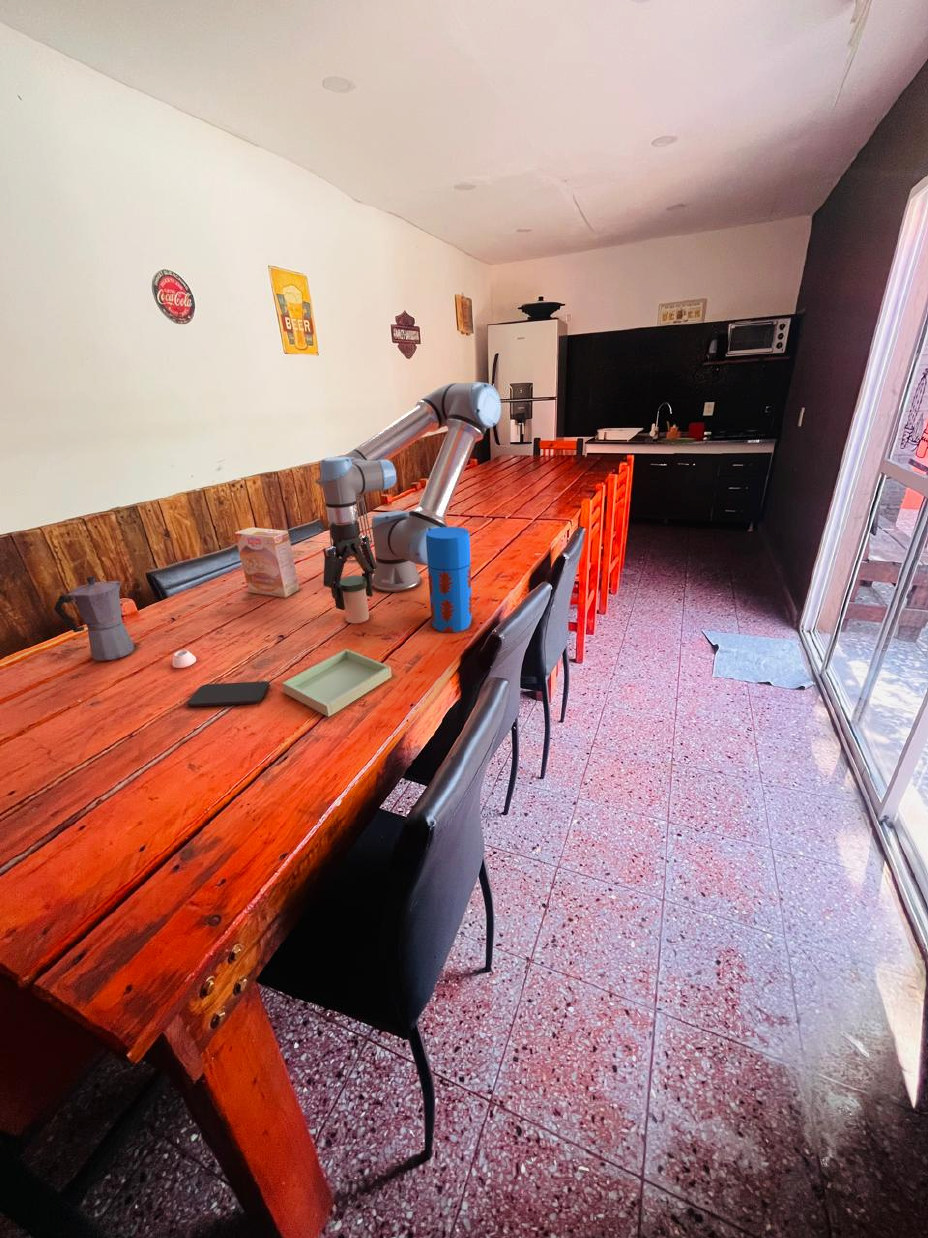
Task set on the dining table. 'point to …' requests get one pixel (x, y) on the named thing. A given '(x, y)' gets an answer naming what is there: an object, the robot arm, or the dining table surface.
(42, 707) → the dining table surface
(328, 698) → the tray
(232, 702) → the phone
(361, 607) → the jar
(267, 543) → the coffeecake box
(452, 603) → the thermos
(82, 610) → the moka pot
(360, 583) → the jar lid
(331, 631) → the dining table surface
